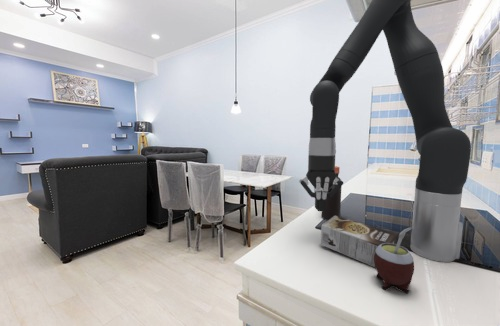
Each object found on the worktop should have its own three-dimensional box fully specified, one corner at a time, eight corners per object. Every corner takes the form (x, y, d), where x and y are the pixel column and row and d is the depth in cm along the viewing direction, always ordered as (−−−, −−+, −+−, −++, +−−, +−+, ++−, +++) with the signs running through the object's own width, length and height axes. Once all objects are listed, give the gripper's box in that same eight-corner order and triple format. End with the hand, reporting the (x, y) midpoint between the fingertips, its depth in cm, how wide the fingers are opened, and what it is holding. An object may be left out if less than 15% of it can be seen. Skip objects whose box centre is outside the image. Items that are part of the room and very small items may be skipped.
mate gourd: (383, 270, 51) (387, 208, 49) (423, 290, 44) (430, 219, 43) (364, 281, 47) (368, 214, 46) (405, 305, 41) (412, 227, 39)
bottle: (343, 219, 83) (346, 167, 81) (331, 222, 80) (334, 168, 78) (329, 213, 89) (331, 165, 87) (317, 217, 86) (319, 166, 84)
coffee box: (334, 214, 67) (397, 232, 56) (333, 233, 68) (394, 255, 57) (321, 224, 60) (388, 247, 49) (319, 245, 62) (385, 272, 51)
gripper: (340, 152, 68) (337, 207, 70) (297, 152, 68) (295, 206, 70) (349, 154, 60) (347, 215, 62) (301, 154, 61) (300, 214, 63)
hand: (319, 210), depth 66 cm, fingers closed
